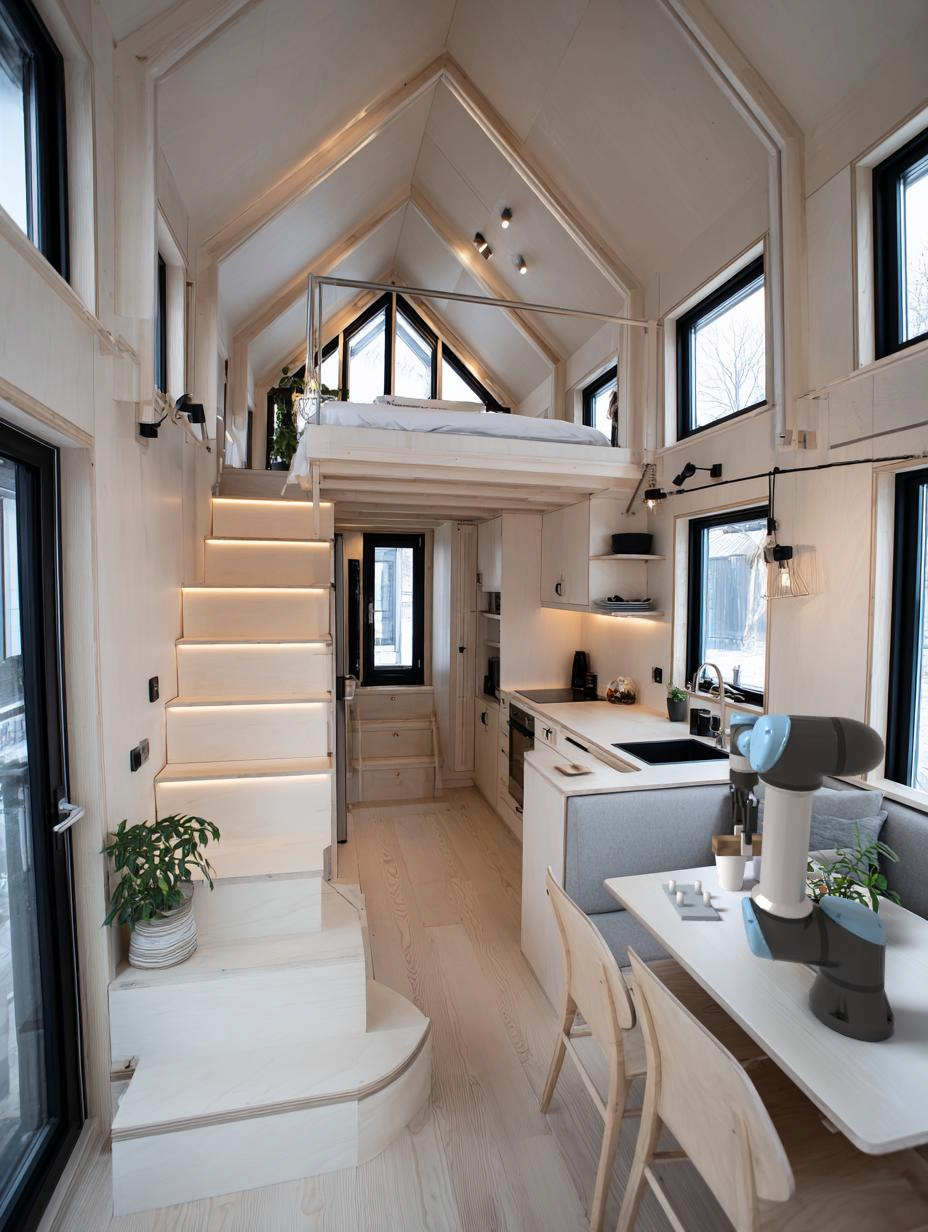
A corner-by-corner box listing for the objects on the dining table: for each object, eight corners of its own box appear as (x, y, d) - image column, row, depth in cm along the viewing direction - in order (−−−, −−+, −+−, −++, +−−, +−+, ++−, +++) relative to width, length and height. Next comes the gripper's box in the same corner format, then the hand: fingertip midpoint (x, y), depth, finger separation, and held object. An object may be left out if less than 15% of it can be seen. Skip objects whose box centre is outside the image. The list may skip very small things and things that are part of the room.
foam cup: (747, 882, 187) (747, 840, 187) (747, 896, 179) (748, 852, 178) (713, 876, 191) (714, 835, 190) (712, 889, 182) (713, 847, 182)
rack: (719, 920, 165) (719, 903, 165) (681, 920, 165) (682, 902, 165) (695, 888, 183) (696, 873, 183) (662, 888, 183) (662, 872, 183)
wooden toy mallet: (718, 857, 168) (718, 842, 167) (710, 849, 173) (710, 834, 173) (784, 857, 167) (784, 841, 167) (773, 849, 173) (774, 833, 173)
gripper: (772, 777, 161) (771, 865, 162) (743, 760, 178) (742, 840, 179) (744, 777, 161) (743, 865, 162) (718, 760, 178) (717, 840, 179)
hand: (743, 851), depth 170 cm, fingers closed on wooden toy mallet, 4 cm apart
